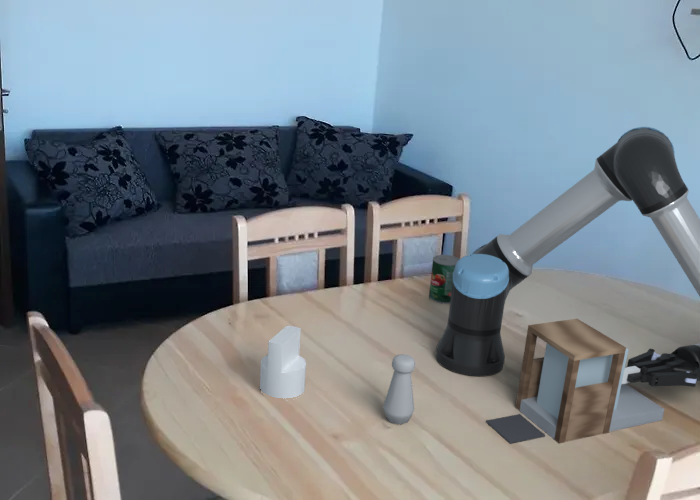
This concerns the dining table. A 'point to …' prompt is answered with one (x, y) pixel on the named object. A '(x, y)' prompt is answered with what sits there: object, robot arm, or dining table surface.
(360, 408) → the dining table surface
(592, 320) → the dining table surface
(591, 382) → the block
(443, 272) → the canned tomato
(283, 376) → the cylinder with rectangular tab
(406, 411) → the salt shaker
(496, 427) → the dark grey square plate
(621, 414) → the runway
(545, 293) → the dining table surface
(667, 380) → the robot arm
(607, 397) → the tunnel
